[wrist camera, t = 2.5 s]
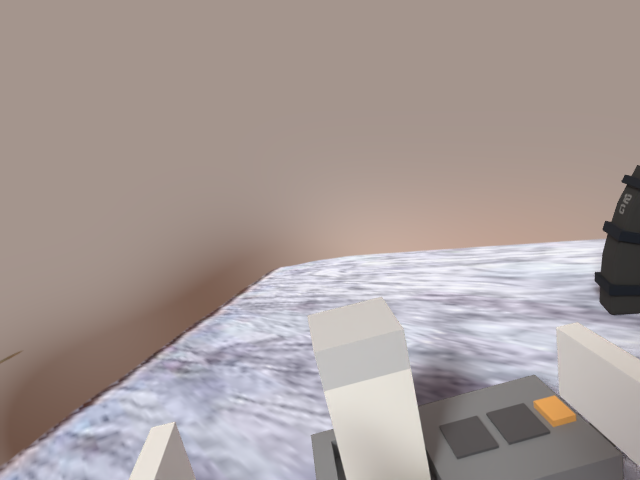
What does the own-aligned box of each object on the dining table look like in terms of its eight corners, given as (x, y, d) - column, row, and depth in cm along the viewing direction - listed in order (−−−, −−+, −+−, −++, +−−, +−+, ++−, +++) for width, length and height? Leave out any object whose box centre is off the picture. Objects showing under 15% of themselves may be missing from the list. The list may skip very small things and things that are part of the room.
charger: (410, 443, 28) (381, 296, 25) (434, 498, 24) (403, 329, 21) (344, 461, 28) (307, 315, 25) (356, 520, 24) (313, 352, 21)
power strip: (675, 373, 32) (676, 330, 31) (802, 447, 24) (810, 394, 23) (320, 470, 30) (309, 429, 29) (336, 583, 23) (321, 532, 22)
